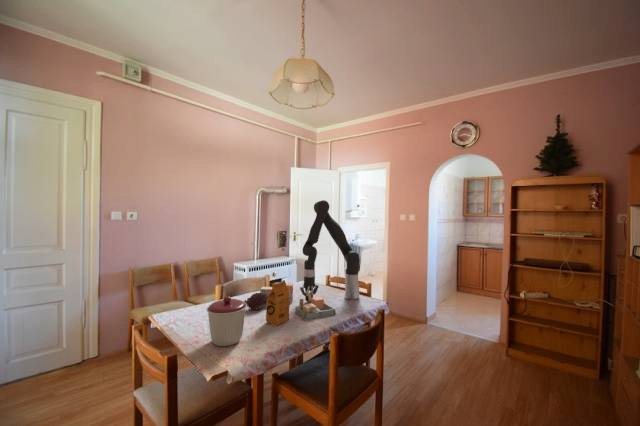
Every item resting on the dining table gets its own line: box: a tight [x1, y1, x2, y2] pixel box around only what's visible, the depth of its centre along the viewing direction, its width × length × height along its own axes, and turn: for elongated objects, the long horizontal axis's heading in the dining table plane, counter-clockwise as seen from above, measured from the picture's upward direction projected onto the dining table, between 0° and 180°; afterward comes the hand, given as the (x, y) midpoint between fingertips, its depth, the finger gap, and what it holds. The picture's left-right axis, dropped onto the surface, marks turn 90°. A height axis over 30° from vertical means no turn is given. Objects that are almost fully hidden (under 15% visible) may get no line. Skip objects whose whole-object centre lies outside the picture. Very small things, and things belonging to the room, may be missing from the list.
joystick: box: [307, 292, 325, 310], centre depth 180 cm, size 6×16×6 cm, turn 28°
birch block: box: [298, 298, 317, 314], centre depth 167 cm, size 6×16×6 cm, turn 28°
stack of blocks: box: [259, 282, 294, 304], centre depth 186 cm, size 21×6×12 cm, turn 89°
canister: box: [205, 295, 248, 347], centre depth 129 cm, size 18×18×21 cm
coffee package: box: [265, 279, 291, 326], centre depth 153 cm, size 10×12×22 cm
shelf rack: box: [295, 301, 336, 321], centre depth 167 cm, size 20×14×3 cm
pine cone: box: [243, 292, 268, 311], centre depth 172 cm, size 18×10×10 cm, turn 132°
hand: (309, 300), depth 186 cm, fingers closed on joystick, 2 cm apart
